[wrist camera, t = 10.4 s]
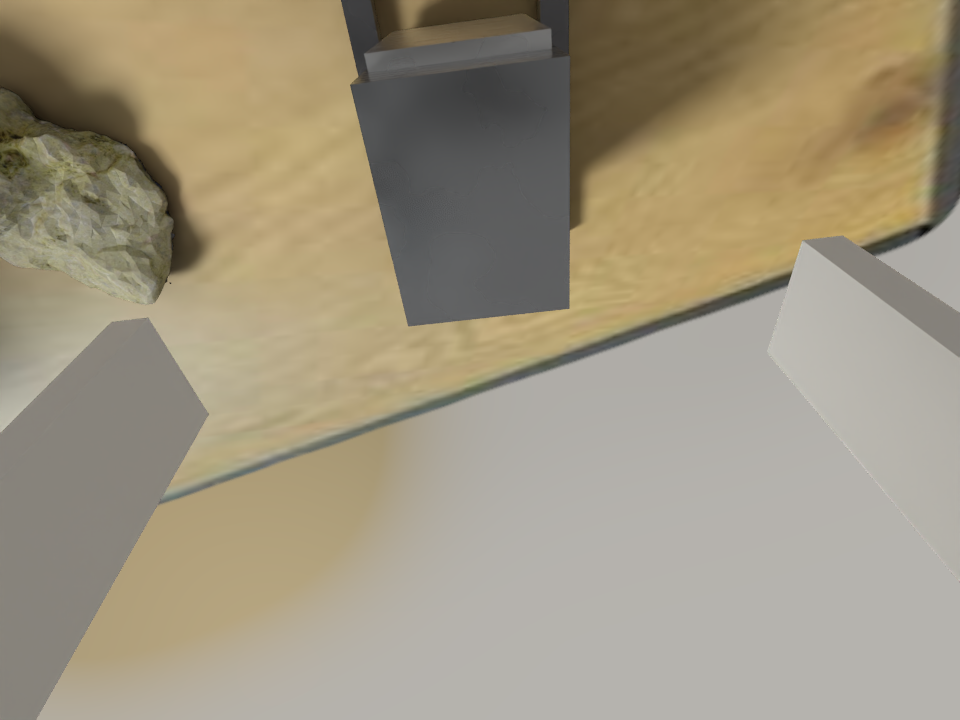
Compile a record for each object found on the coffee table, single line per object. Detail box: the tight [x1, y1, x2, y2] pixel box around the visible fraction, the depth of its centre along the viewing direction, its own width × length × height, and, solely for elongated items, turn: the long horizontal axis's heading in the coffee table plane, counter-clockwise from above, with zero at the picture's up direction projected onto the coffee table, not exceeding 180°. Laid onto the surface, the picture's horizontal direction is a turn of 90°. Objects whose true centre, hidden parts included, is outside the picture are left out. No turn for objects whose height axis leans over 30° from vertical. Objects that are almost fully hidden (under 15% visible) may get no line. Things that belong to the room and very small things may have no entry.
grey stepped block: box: [350, 13, 570, 326], centre depth 20 cm, size 6×8×11 cm
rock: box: [0, 88, 175, 305], centre depth 24 cm, size 11×6×10 cm
